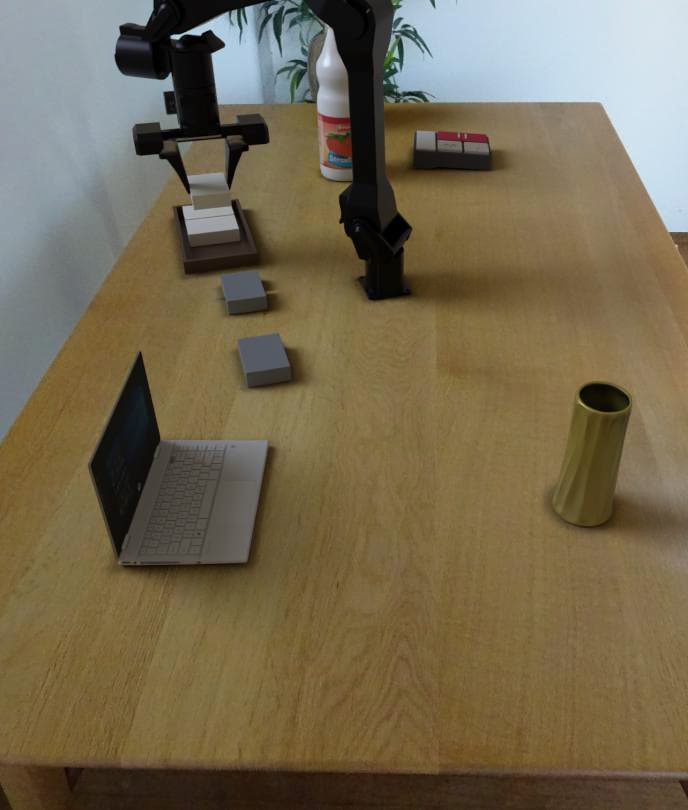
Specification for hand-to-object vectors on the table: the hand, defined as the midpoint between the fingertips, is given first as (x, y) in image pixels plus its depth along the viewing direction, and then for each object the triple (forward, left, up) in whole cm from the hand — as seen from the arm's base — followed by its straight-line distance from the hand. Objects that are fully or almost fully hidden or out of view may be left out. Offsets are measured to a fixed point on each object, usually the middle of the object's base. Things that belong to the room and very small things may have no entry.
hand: (209, 191), depth 121 cm
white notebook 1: (+12, 0, -10) cm, 16 cm away
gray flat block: (-32, -2, -11) cm, 34 cm away
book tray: (+6, 0, -11) cm, 12 cm away
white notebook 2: (+7, 0, -10) cm, 12 cm away
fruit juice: (+29, -28, -11) cm, 41 cm away
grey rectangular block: (-14, -2, -11) cm, 18 cm away
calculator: (+30, -50, -11) cm, 59 cm away
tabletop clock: (+58, -36, -11) cm, 69 cm away
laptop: (-54, +8, -11) cm, 56 cm away
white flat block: (0, 0, -1) cm, 1 cm away
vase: (-66, -30, -11) cm, 74 cm away
